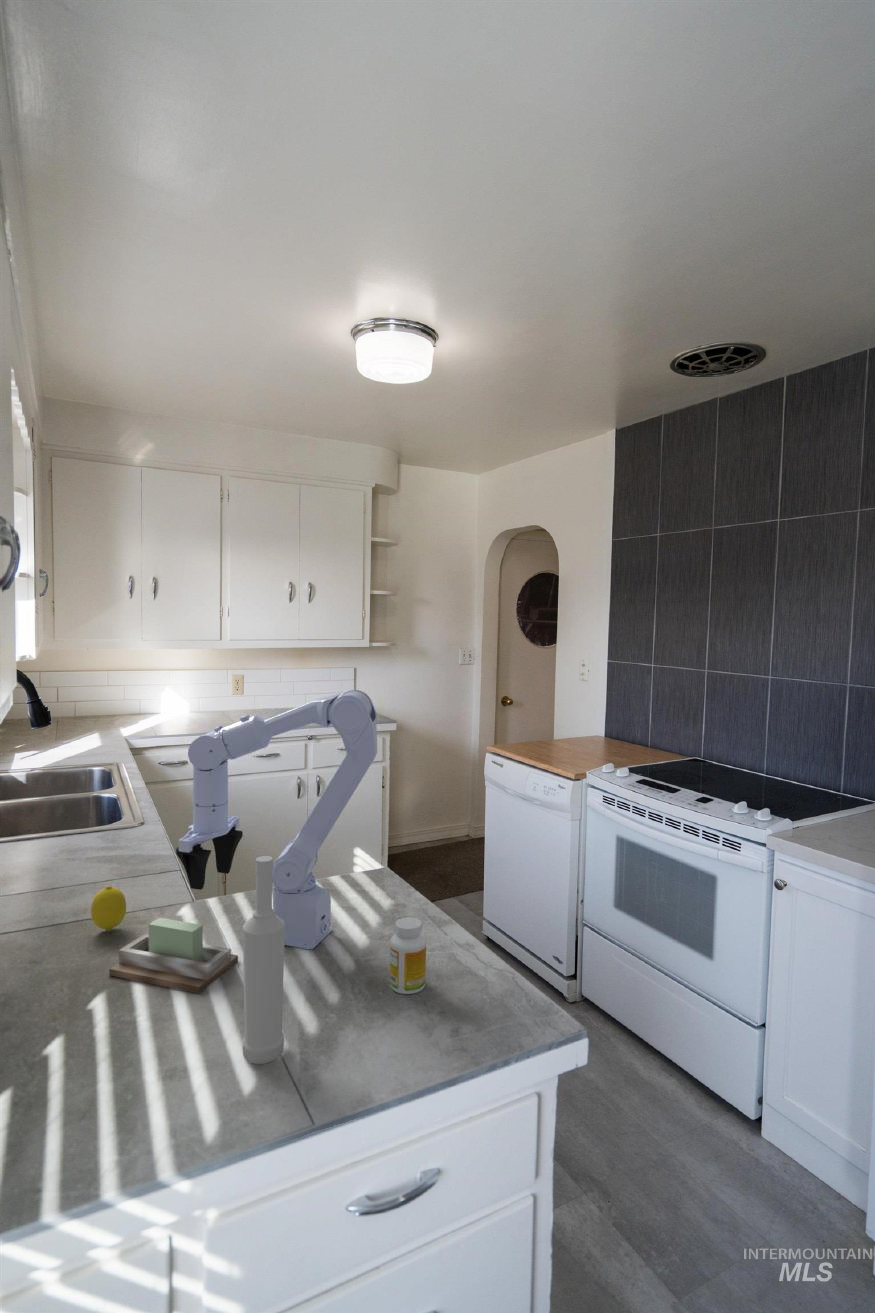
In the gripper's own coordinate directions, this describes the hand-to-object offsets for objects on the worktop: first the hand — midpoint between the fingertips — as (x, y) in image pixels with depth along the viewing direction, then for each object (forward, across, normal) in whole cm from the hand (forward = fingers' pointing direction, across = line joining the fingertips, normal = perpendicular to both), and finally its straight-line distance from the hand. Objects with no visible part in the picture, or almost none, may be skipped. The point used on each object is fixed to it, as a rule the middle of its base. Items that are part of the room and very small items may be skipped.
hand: (210, 880), depth 120 cm
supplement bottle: (+10, +5, +38) cm, 40 cm away
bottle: (+10, +26, +26) cm, 38 cm away
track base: (+9, +12, +2) cm, 15 cm away
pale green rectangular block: (+8, +12, +2) cm, 15 cm away
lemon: (+10, +5, -17) cm, 20 cm away
